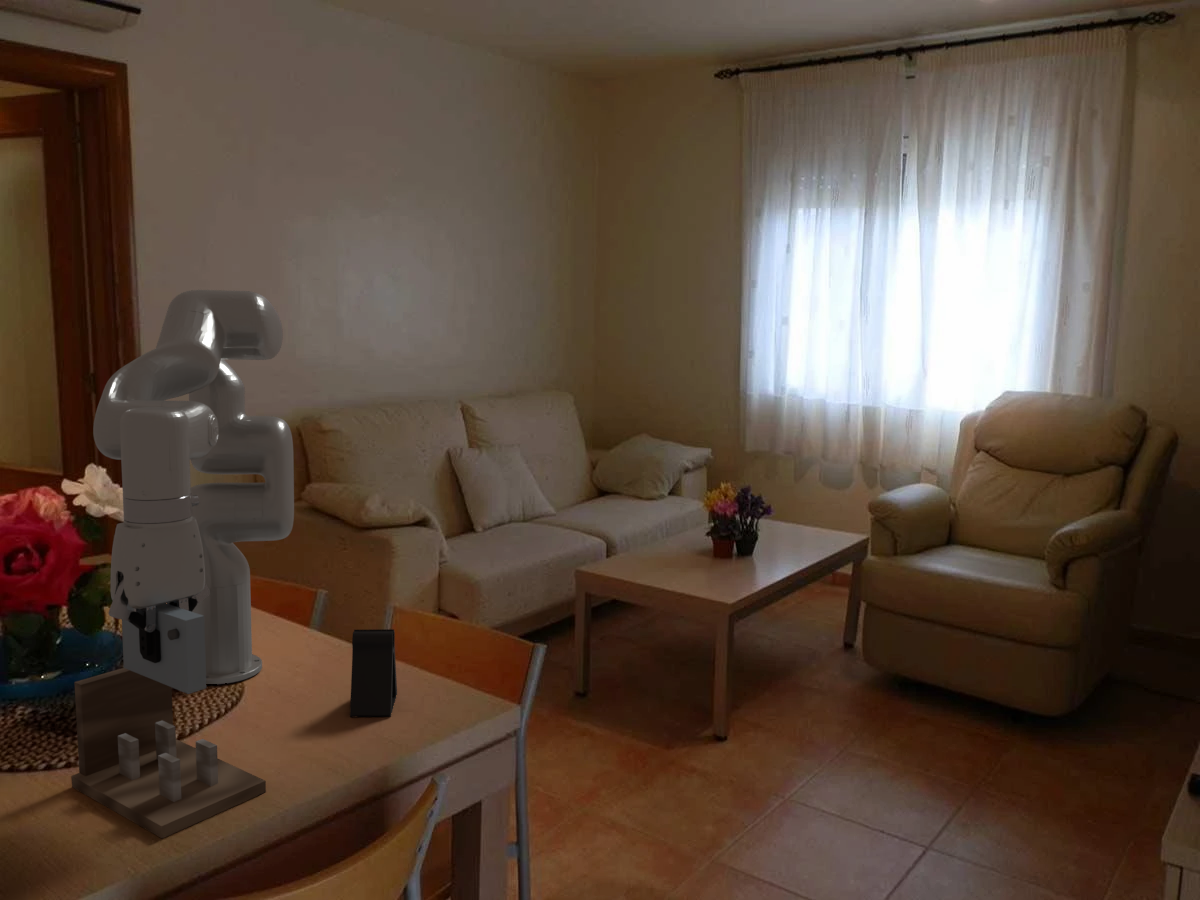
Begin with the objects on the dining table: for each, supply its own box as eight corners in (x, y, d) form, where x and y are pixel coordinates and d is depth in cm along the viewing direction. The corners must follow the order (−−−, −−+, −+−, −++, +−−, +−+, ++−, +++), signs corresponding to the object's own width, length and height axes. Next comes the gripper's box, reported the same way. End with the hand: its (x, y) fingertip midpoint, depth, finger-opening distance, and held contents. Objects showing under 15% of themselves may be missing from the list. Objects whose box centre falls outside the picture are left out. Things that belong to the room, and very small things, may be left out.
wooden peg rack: (71, 786, 126) (66, 684, 124) (174, 748, 137) (170, 654, 135) (162, 838, 114) (157, 726, 112) (265, 791, 126) (263, 689, 124)
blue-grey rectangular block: (117, 669, 126) (114, 600, 124) (141, 662, 128) (139, 594, 127) (182, 696, 118) (179, 622, 117) (206, 688, 120) (204, 615, 119)
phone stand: (390, 717, 149) (389, 640, 147) (349, 718, 149) (348, 640, 147) (397, 694, 158) (397, 621, 156) (359, 694, 157) (358, 621, 156)
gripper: (199, 497, 129) (203, 634, 132) (74, 515, 116) (82, 668, 119) (234, 504, 125) (238, 646, 127) (109, 524, 112) (116, 682, 114)
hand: (163, 655), depth 123 cm, fingers closed on blue-grey rectangular block, 2 cm apart
